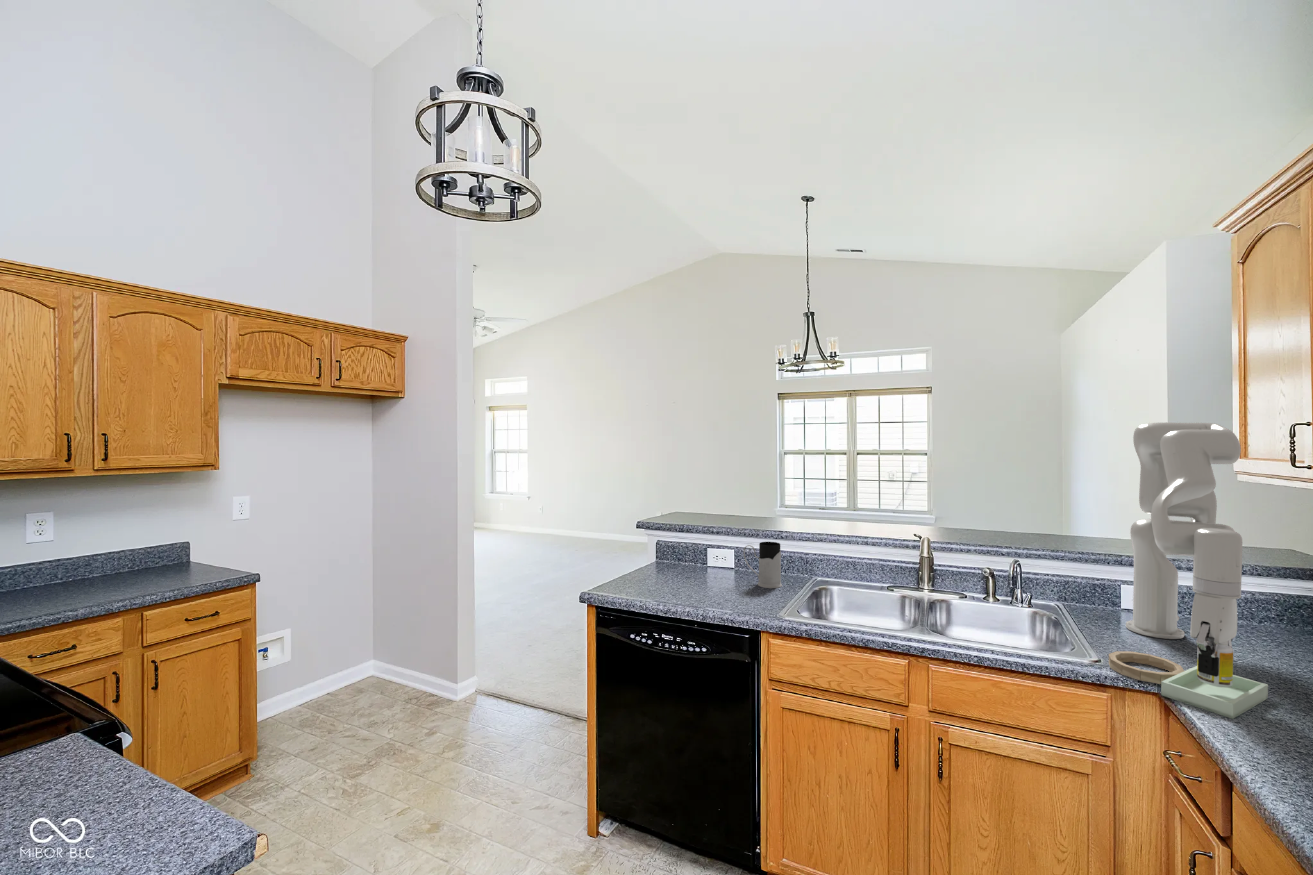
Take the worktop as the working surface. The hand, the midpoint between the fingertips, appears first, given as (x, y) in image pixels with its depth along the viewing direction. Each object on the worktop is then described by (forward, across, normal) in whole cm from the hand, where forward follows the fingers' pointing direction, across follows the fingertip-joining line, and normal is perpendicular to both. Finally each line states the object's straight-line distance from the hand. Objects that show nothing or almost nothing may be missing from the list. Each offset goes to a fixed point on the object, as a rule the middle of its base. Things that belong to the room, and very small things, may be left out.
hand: (1214, 670), depth 127 cm
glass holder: (+6, +28, -117) cm, 120 cm away
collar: (+6, -2, -13) cm, 15 cm away
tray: (+6, 0, 0) cm, 6 cm away
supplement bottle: (+3, 0, 0) cm, 3 cm away
